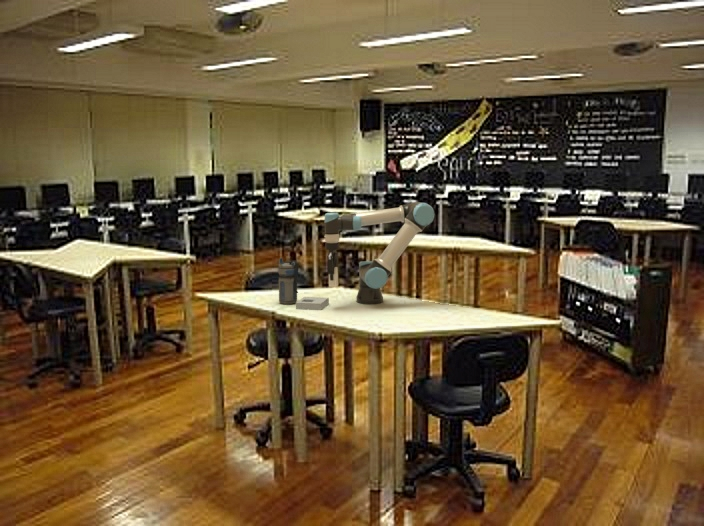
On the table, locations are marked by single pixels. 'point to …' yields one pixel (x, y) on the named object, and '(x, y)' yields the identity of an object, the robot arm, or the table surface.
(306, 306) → the grey block with hole
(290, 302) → the beverage bottle
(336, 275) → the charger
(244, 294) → the table surface
